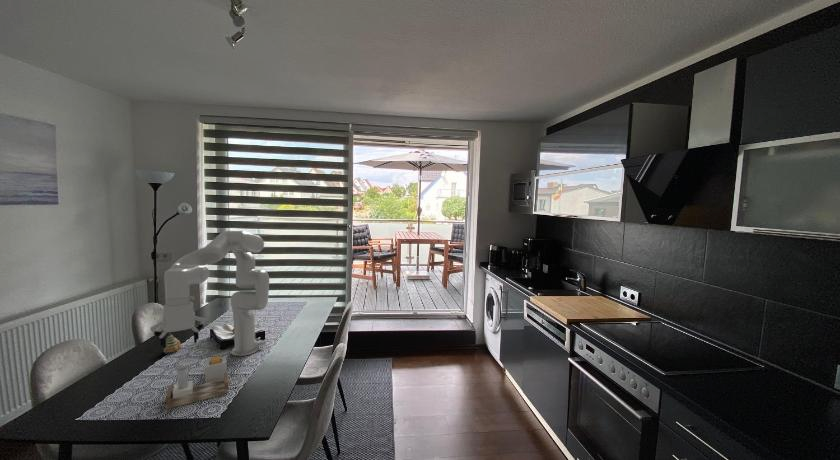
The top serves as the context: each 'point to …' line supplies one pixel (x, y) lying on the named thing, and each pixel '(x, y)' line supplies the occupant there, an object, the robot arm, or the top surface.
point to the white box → (215, 370)
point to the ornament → (171, 345)
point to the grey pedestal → (182, 381)
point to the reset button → (215, 360)
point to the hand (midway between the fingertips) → (180, 344)
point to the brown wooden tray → (198, 393)
